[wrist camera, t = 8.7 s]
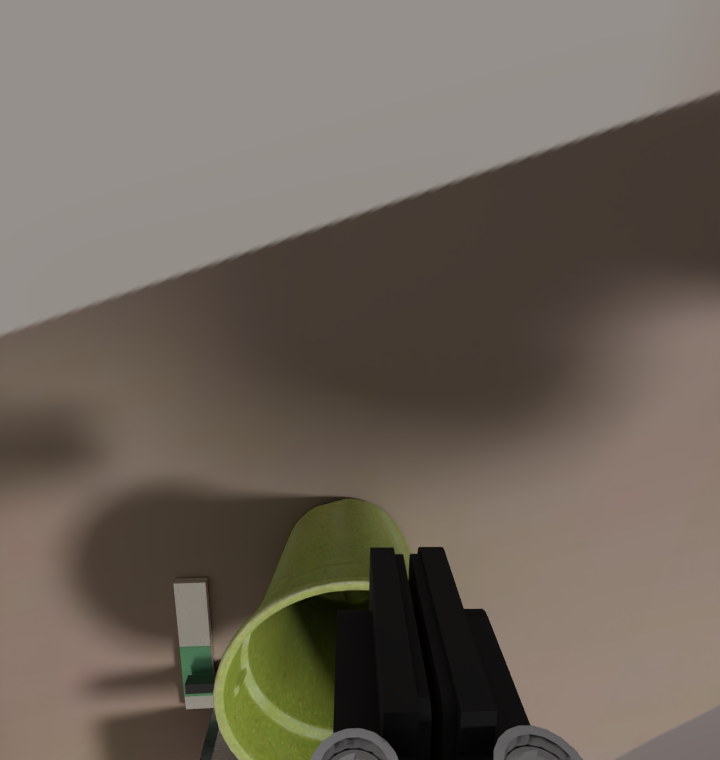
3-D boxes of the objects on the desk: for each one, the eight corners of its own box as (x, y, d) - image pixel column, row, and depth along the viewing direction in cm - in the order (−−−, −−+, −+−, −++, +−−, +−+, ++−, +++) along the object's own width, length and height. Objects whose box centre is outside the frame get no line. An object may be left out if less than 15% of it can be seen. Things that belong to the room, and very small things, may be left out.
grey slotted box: (175, 578, 24) (126, 678, 18) (479, 568, 25) (525, 659, 19) (193, 758, 27) (155, 894, 21) (465, 742, 28) (501, 867, 22)
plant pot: (380, 648, 26) (404, 832, 17) (224, 586, 24) (168, 756, 16) (465, 513, 24) (538, 644, 16) (303, 437, 23) (288, 538, 14)
